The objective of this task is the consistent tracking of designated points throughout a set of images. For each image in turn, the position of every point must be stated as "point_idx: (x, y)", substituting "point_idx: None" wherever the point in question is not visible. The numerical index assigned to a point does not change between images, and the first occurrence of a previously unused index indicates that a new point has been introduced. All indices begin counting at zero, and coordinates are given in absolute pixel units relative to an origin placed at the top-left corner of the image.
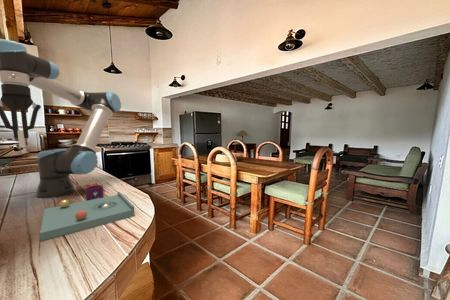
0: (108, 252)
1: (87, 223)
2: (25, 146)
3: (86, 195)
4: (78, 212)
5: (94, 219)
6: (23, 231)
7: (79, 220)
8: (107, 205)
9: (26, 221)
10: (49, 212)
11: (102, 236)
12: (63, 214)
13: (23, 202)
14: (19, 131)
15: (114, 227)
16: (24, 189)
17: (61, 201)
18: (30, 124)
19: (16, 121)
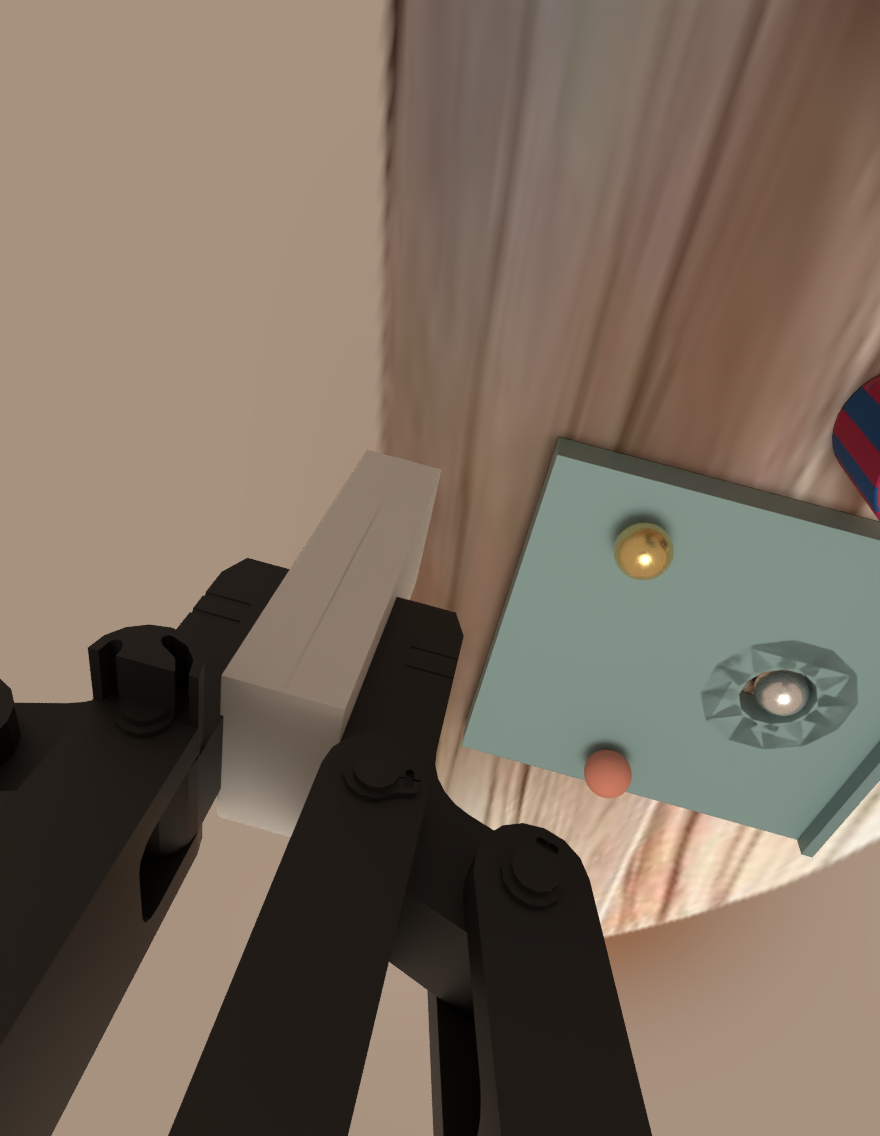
0: None
1: None
2: (433, 501)
3: (855, 455)
4: (595, 791)
5: (638, 794)
6: (437, 582)
7: None
8: (785, 715)
9: (466, 455)
10: (553, 549)
11: (607, 840)
12: (586, 640)
13: None
14: (263, 806)
15: (672, 825)
16: None
17: (625, 566)
18: (450, 1079)
19: (61, 1097)
